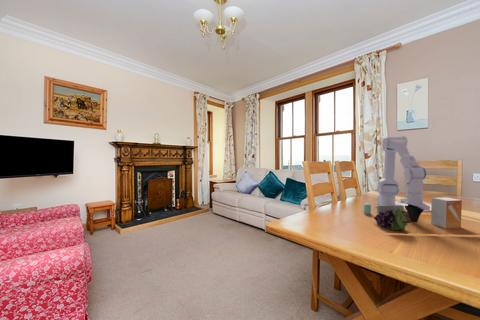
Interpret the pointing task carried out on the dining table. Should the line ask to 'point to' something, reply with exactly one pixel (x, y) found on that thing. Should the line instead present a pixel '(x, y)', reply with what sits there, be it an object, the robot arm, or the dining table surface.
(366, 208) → the dowel
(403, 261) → the dining table surface
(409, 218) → the block
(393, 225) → the fruit
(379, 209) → the board
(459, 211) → the small box
